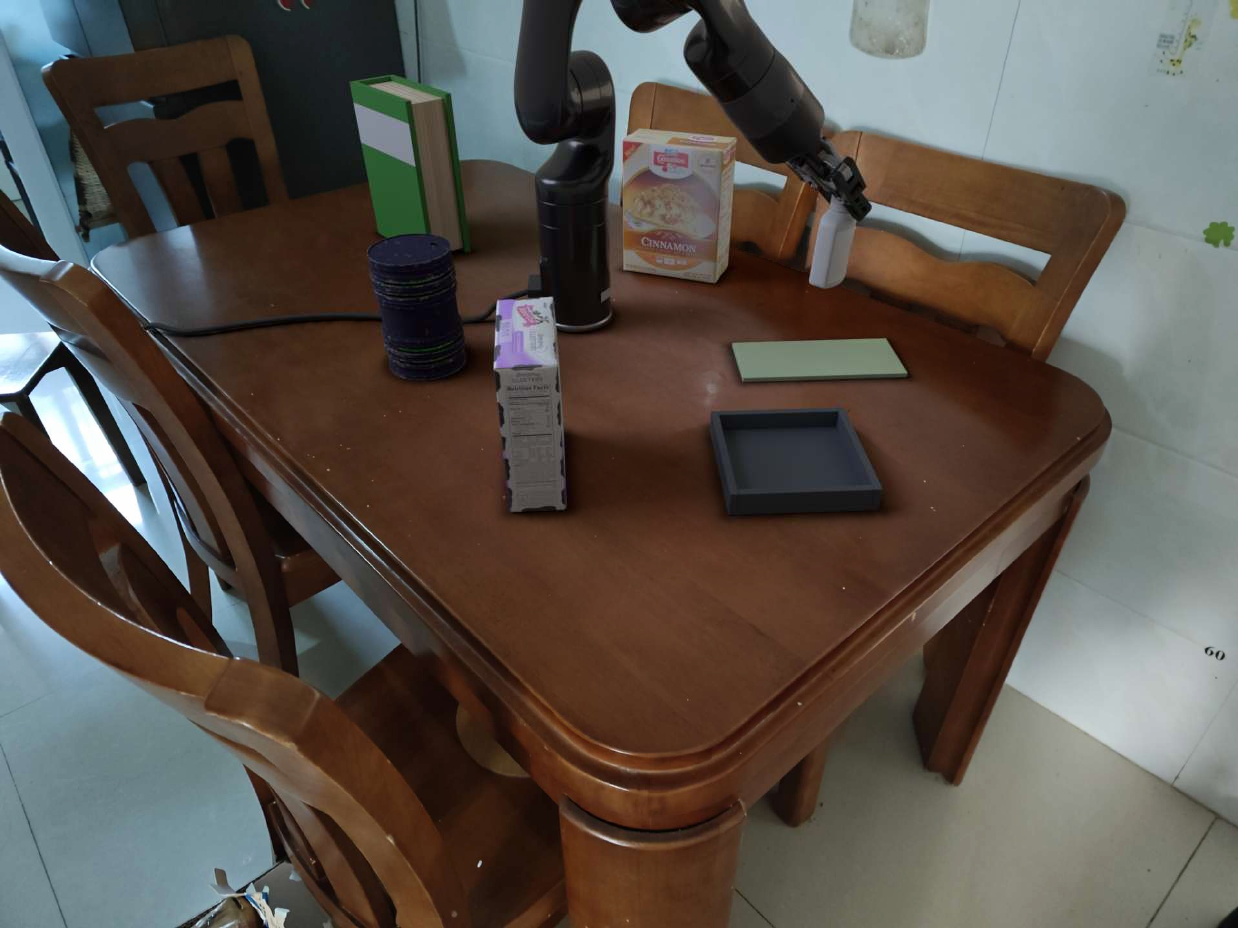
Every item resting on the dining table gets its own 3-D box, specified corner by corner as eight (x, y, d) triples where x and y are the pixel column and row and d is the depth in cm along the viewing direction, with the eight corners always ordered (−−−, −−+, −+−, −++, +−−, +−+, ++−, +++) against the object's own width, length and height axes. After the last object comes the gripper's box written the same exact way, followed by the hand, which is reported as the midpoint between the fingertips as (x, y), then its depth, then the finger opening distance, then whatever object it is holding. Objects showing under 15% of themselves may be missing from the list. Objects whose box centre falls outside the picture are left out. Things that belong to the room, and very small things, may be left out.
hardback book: (470, 251, 134) (450, 93, 120) (430, 263, 130) (405, 101, 116) (416, 222, 145) (392, 74, 131) (378, 233, 141) (349, 82, 127)
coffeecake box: (622, 270, 127) (620, 139, 115) (638, 254, 132) (638, 126, 121) (715, 285, 122) (723, 149, 111) (728, 266, 128) (737, 135, 116)
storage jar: (400, 388, 100) (377, 272, 91) (379, 354, 107) (356, 242, 98) (478, 368, 103) (463, 254, 94) (453, 336, 110) (437, 227, 101)
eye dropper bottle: (857, 283, 96) (880, 181, 89) (817, 291, 94) (836, 188, 87) (835, 268, 99) (856, 168, 92) (796, 276, 98) (813, 174, 90)
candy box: (511, 434, 91) (495, 297, 81) (564, 431, 92) (555, 294, 82) (508, 514, 80) (490, 366, 70) (568, 510, 80) (559, 362, 71)
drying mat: (742, 382, 100) (743, 378, 99) (731, 346, 107) (732, 342, 107) (906, 377, 100) (907, 373, 100) (884, 342, 107) (885, 338, 107)
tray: (728, 515, 80) (730, 494, 78) (709, 430, 91) (710, 411, 90) (878, 510, 80) (883, 489, 78) (840, 426, 92) (843, 406, 90)
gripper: (836, 87, 76) (918, 201, 87) (758, 60, 86) (840, 165, 97) (780, 153, 77) (867, 257, 88) (711, 119, 88) (796, 215, 99)
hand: (852, 208), depth 93 cm, fingers closed on eye dropper bottle, 3 cm apart
